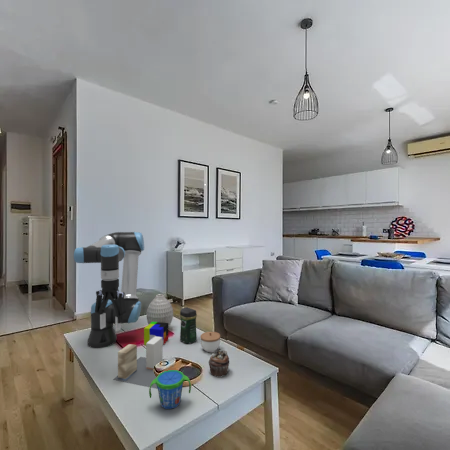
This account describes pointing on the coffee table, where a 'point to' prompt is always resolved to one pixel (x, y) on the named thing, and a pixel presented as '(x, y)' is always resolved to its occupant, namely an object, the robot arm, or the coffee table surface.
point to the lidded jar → (210, 341)
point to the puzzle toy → (156, 331)
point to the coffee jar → (188, 325)
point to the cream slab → (154, 352)
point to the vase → (160, 310)
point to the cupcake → (219, 363)
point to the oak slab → (127, 362)
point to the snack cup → (170, 387)
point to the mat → (141, 375)
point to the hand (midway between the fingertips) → (110, 328)
